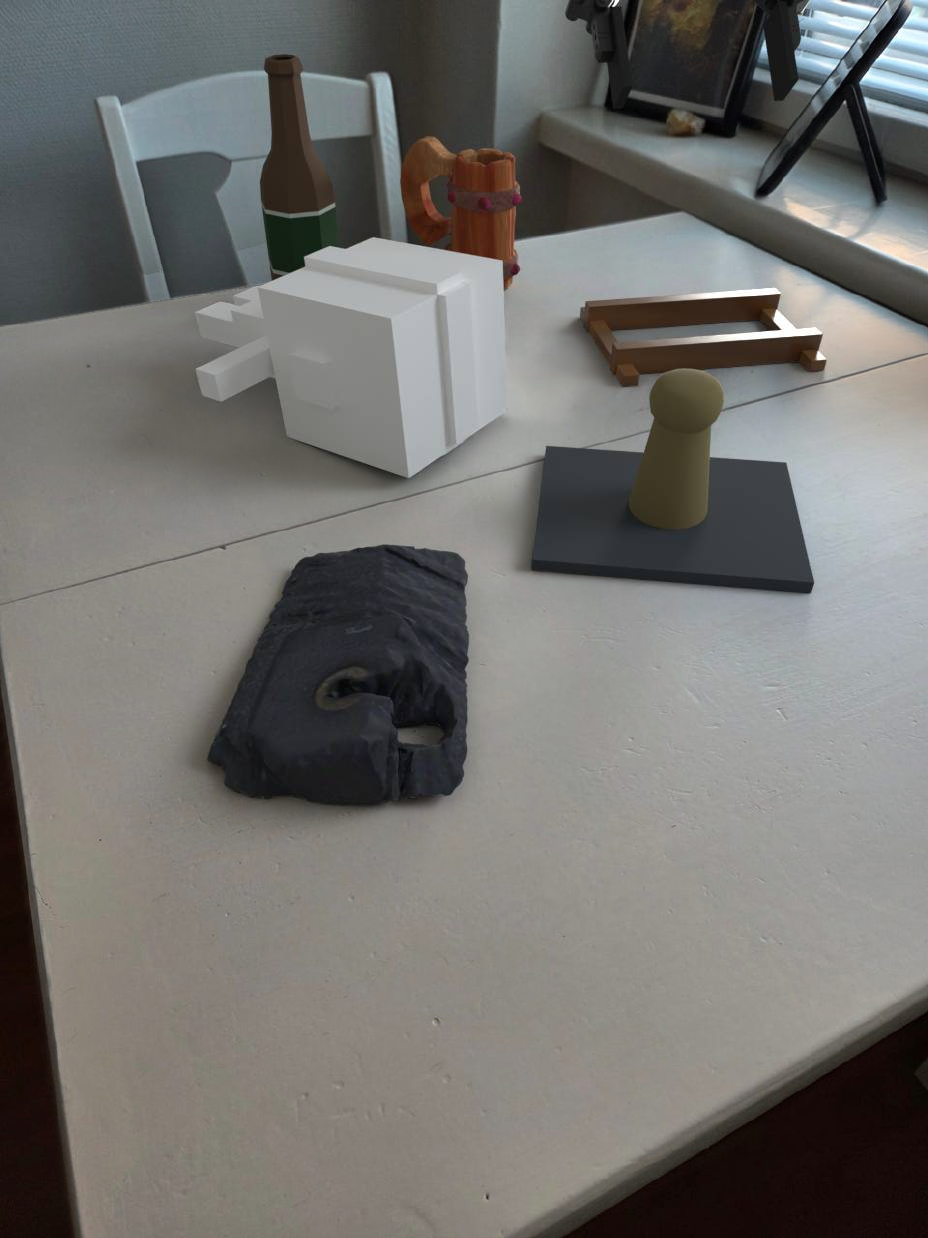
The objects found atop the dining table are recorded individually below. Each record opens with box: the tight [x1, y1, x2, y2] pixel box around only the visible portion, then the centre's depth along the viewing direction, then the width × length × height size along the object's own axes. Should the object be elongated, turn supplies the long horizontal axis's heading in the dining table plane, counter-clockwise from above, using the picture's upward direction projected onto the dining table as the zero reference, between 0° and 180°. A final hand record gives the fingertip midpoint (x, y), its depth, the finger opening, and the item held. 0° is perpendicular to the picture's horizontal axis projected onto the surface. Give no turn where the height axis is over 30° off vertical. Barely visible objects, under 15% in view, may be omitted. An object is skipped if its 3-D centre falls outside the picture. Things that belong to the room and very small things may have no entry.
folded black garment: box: [206, 543, 470, 807], centre depth 60 cm, size 15×22×5 cm
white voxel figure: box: [194, 236, 509, 479], centre depth 83 cm, size 15×25×28 cm
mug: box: [399, 135, 523, 291], centre depth 104 cm, size 15×8×15 cm, turn 59°
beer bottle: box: [259, 53, 340, 281], centre depth 97 cm, size 8×8×24 cm
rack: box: [579, 287, 828, 388], centre depth 97 cm, size 16×21×3 cm
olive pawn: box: [629, 368, 725, 530], centre depth 70 cm, size 6×6×11 cm
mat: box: [530, 445, 815, 594], centre depth 74 cm, size 20×16×1 cm
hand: (705, 94), depth 75 cm, fingers open, 13 cm apart
